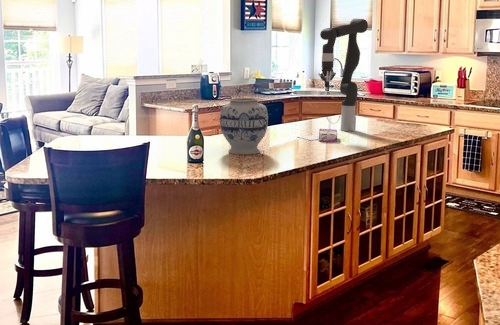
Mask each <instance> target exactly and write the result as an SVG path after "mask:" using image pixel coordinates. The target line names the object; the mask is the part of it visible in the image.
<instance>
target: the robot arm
mask: <svg viewBox="0 0 500 325" xmlns="http://www.w3.org/2000/svg"><path fill="white" fill-rule="evenodd" d="M368 28H369V23H368V21H367V19H364V18H352V19H351V20H350V22H349V24H340V25H338V26H335V27H326V28H323V29H322V30H321V31H320V34H319V36H320V38H321V39H322V40H324V41H325V40H326V41H327V42H326V43H324V44H323V45H322V54H321V71H320V72H319V73H318V76H319V77H320V79H321V81H323V82H324V87H325V88H329V87H330V82H331V81H332V80H333V79H334V78H335V76H336V74H337V73H336V72H334V69H333V68H334V62H335V61H334V57H335V56H334V47H335V44H336V40H337V38H341V37H344V36H348V39H347V40H348V41H347V48H346V52H345V53H346V54H345V60H344V61H345V62H344V68H343V73H342V77H341V81H340V85H339V91H340V92H339V93H341V94H342V95H344V96H345V99H344V100H342V101H341V109H340V110H341V112H340V113H341V116H340V131H342V132H354V131H356V129H357V128H356V127H357V124H356V123H357V122H356V121H357V116H356V103H357V100H358V92H359V91H358V90H359V89H358V85H357V83H356V82H354V81H352V78H353V74H354V73H355V71H356V69H357V68H358V65H359V62H360V58H361V50H360V48H359V44H358V42H357V38H358V37H357V35H358V34H363V33H365V32H367V30H368Z"/></svg>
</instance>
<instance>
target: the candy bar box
mask: <svg viewBox="0 0 500 325" xmlns="http://www.w3.org/2000/svg"><path fill="white" fill-rule="evenodd" d="M318 135H319V140H318V141H319V142H331V143H333V142H334V143H337V141H338V130H337V129H331V128H330V129H328V128H319V132H318Z"/></svg>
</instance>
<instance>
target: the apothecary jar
mask: <svg viewBox="0 0 500 325" xmlns="http://www.w3.org/2000/svg"><path fill="white" fill-rule="evenodd" d="M258 101H259V99H258V98H255V97H238V98H230V99H229V103H227V104H225V105H223V106H222V107H221V108H220V111H219V124H220V125H219V126H220V130H221V133H222V135H223V137H224V139H225V140H226V141H227V143H228V144H229V145H230V149H228V153H229V154H231V155H236V156H237V155H239V156H240V155H241V156H243V155H247V156H248V155H249V156H250V155H256V154H259V153H260V151H261V150H260V149H259V148H258V146H259V144H260V143H261V141H262V140H263V139H264V137H265V136H266V133H267V130H268V125H269V124H268V123H269V113H268V109H267V106H266V105H265V104H263V103H260V102H258Z"/></svg>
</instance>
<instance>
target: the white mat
mask: <svg viewBox="0 0 500 325" xmlns="http://www.w3.org/2000/svg"><path fill="white" fill-rule="evenodd" d="M297 138H299V139H302V140H306V141H319V134H312V135H300V136H297Z"/></svg>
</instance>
